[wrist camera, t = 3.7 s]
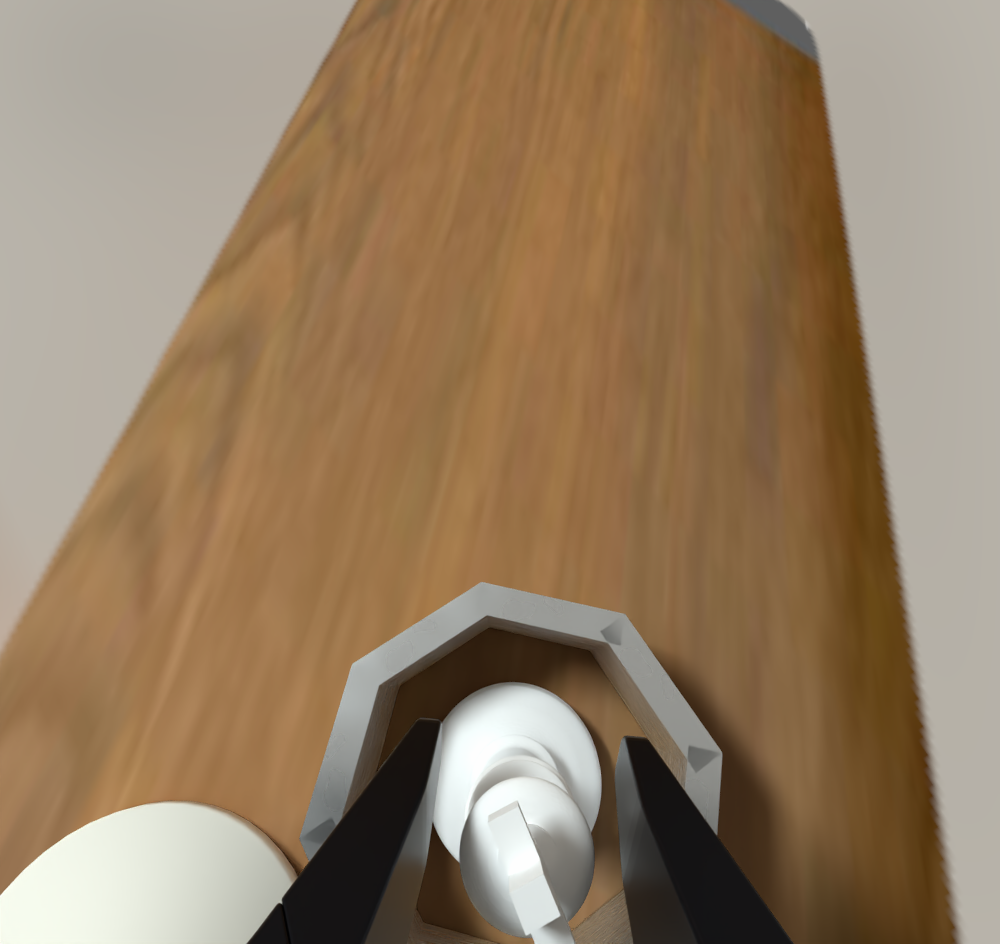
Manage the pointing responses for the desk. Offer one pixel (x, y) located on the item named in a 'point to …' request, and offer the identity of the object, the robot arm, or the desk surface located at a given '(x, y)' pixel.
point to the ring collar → (532, 615)
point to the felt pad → (150, 881)
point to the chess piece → (520, 807)
